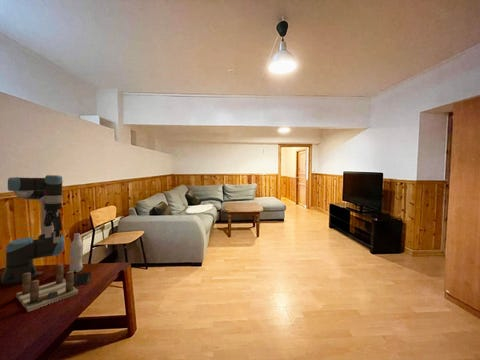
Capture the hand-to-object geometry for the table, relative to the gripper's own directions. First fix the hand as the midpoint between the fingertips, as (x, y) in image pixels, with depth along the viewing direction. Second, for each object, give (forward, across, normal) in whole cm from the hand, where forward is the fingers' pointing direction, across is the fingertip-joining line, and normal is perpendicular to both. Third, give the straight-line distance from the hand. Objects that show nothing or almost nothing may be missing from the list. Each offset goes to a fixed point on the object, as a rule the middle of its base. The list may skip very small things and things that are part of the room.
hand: (52, 240), depth 125 cm
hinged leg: (+24, +16, -7) cm, 30 cm away
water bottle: (+27, -11, +16) cm, 33 cm away
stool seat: (+27, +10, -4) cm, 29 cm away
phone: (+27, +4, +14) cm, 31 cm away
